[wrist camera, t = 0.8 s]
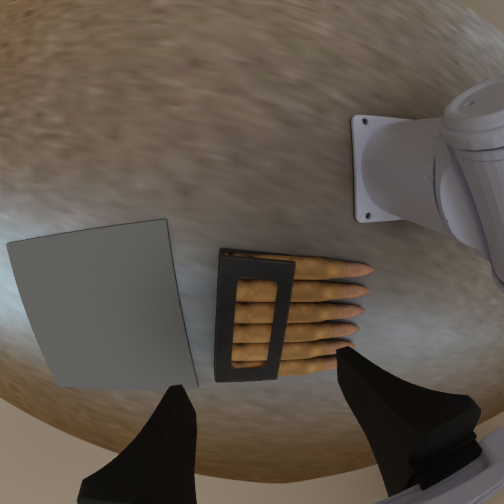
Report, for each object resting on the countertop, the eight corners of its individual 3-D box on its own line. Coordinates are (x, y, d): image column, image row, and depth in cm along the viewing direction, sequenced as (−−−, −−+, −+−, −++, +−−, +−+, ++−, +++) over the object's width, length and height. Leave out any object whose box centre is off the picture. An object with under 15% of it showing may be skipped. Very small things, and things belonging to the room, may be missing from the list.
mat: (166, 218, 20) (165, 219, 20) (198, 385, 25) (198, 387, 25) (8, 242, 19) (6, 243, 19) (59, 384, 24) (58, 386, 23)
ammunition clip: (213, 369, 24) (343, 363, 26) (214, 383, 22) (351, 375, 24) (219, 247, 21) (370, 255, 23) (220, 255, 19) (382, 262, 21)
